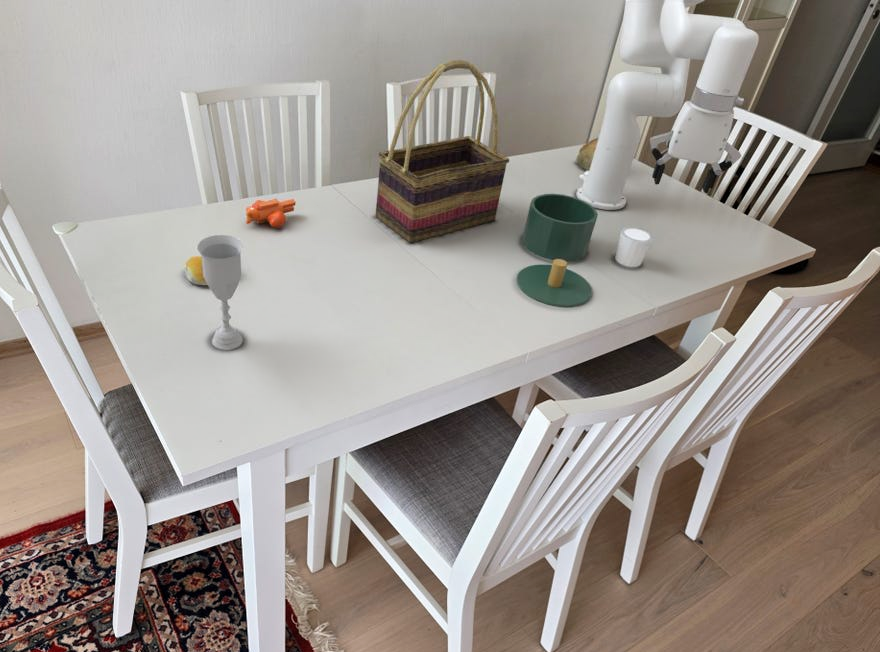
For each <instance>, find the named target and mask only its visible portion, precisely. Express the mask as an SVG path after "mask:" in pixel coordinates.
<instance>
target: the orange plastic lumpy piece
mask: <svg viewBox="0 0 880 652" xmlns="http://www.w3.org/2000/svg"><path fill="white" fill-rule="evenodd" d="M296 203H297V202H296V201H295V199H294V198H290V199H288V200H283V201H279V200H278V199H277V198H274V199H270V200H266V201H265V200H260V199H257V200H256V201H255V202H254V203H252V205H251V206H247V207H246V209H245V211H246V220H245V224H246V225H249V224H251V223H252V222H256V223H257V224H262V223H266V222H268V223H269V225H270V226H271V227H274V228H277V229H279V228H281V227H282V226H283V225H284V224H285V223H287V217H286V215H285V214H286V213H291V212H294V211H295V206H296Z"/></svg>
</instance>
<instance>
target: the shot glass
mask: <svg viewBox="0 0 880 652" xmlns="http://www.w3.org/2000/svg"><path fill="white" fill-rule="evenodd" d="M653 240H654V237H653V235H652V234H651V233H650V232H648V231H646V230H644V229H642V228H639V227H632V226H628V227H623V228H621V231H620V234H619V239H618V243H617V247H616V252H615V257H614V259H615V261H616V262H617V263H618V264H621V265H622V266H625V267H628V268H638V267H640V266H641V265H642V263H643V261H644V259H645V256H646V254H647V253H648V250H649V248H650V246H651V244H652V242H653Z"/></svg>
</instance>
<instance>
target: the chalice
mask: <svg viewBox="0 0 880 652" xmlns="http://www.w3.org/2000/svg"><path fill="white" fill-rule="evenodd" d="M243 249H244V243H243V242H242V240H240V239H239V238H237V237H235V236H232V235H227V234H216V235H211V236H208V237H205V238H203V239H202V240H201V241H199V243H198V244H197V251H198V252H199V254H200V255H201V257H202V265H203V276H204V278H205V280H206V282H207V284H208V285H207V287H208V288H209V289H210V291H211V292H212V294H213V296H214V297H215V299H217V300H219V301H221V305H220V307H219V309H220V310H221V312H222V314H221V315H220V317H219V318H220V319H221V320H222V322H223V324H222V325H220V326H218V327H217V329H215V333H214V335H213V337H212V339H211V343H212V345H213V346H214V347H215V348H216V349H219V350H223V351H229V350H230V351H231V350H235V349H236V348H239V347H240V346H241V345H242V343H243V337H242V336H241V335H242V334H241V333H240V332H239V329H238V328H237V327H235V326H234V325H232V324H230V319H231V318H232V315H231V314H229V310H230V309H231V306H230V305H229V302H228V300H231V299H232V298H233V296H234V294H235V292H236V290H237V288H238V286H239V284H240V281H241V277H242V261H241V260H242V259H241V253H242V252H243Z"/></svg>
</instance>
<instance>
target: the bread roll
mask: <svg viewBox="0 0 880 652" xmlns="http://www.w3.org/2000/svg"><path fill="white" fill-rule="evenodd" d="M183 273H184V275H185V277H186V279H187V280H188V281H189V282H190V283H191V284H194V285H197V286H198V285H199V286H208V284H207V282H206V280H205V278H204V276H203V265H202V256H200V255H199V256H197V255H196V256H191V257H190V258H189V259H188V260H187V261H185V266H184V272H183Z"/></svg>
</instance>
